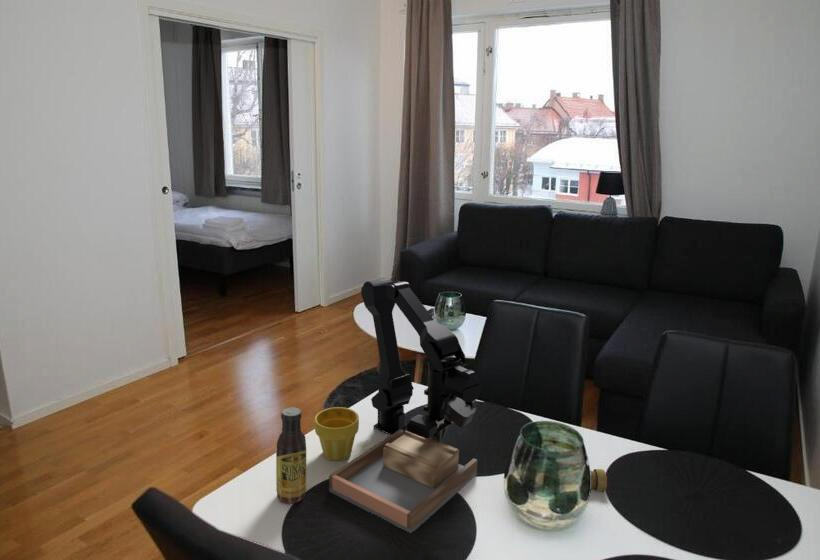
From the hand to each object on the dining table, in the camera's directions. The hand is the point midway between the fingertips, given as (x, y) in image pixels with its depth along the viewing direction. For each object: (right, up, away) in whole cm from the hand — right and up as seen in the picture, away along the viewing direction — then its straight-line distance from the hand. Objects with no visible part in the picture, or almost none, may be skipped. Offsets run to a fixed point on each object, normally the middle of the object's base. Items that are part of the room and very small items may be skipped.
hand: (438, 446), depth 140 cm
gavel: (+31, -5, -1) cm, 32 cm away
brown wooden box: (-4, -3, -5) cm, 7 cm away
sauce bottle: (-32, -7, -14) cm, 36 cm away
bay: (-8, -6, -9) cm, 13 cm away
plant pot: (-24, -2, +2) cm, 24 cm away
